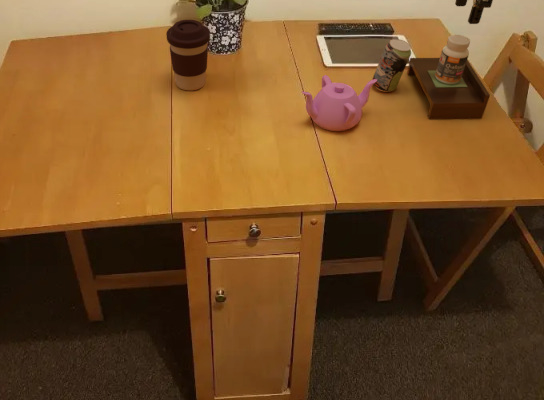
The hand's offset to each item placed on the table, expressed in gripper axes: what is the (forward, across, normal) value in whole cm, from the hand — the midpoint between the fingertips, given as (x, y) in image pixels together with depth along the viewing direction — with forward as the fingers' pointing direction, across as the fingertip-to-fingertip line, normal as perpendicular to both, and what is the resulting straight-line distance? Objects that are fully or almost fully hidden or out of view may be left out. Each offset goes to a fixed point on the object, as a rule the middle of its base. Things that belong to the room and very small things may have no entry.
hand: (466, 14), depth 124 cm
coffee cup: (+20, +6, +60) cm, 64 cm away
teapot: (+20, -9, +27) cm, 35 cm away
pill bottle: (+16, 0, 0) cm, 16 cm away
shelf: (+20, 0, 0) cm, 20 cm away
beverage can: (+20, +3, +13) cm, 24 cm away
